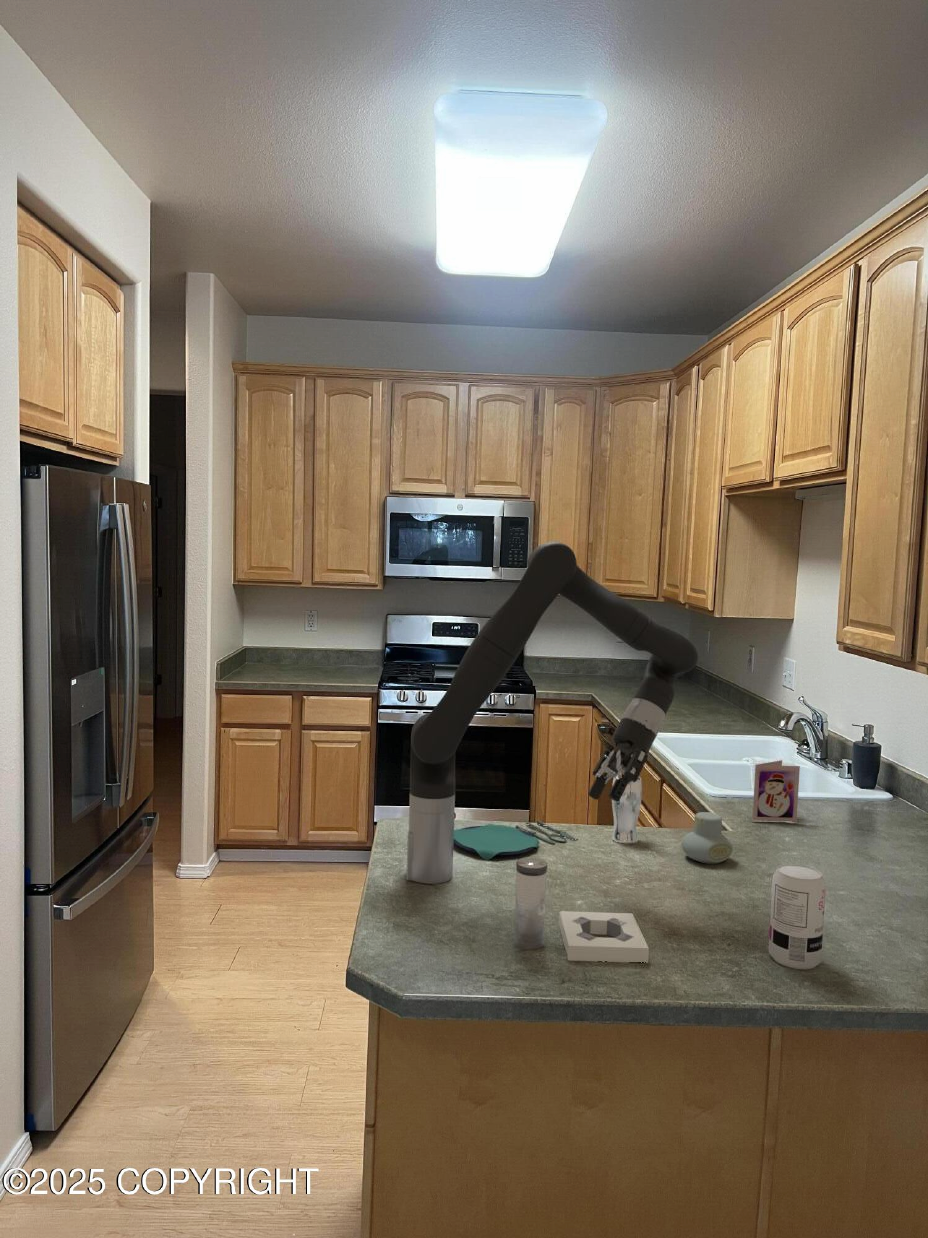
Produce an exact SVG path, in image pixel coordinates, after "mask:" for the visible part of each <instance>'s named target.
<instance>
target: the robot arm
mask: <svg viewBox="0 0 928 1238" xmlns="http://www.w3.org/2000/svg"><path fill="white" fill-rule="evenodd" d="M577 563H578V561H577V558H576V554H575V552H574V551H573V549H572V548H571V547H570V546H568V544H566V543H562V542H559V541H549V542H546V543H543V544H540V545H538V546H537V547H536V548H534V549H533V550H532V552H531V553H530V555H529V557H528V560H527V569H526V570H525V572H524V574H523V576H522V577H521V579H520V581H519V583H518V584H517V586H516V588H514V589H515V590H514V591H513V592H512V594H511V595H510V596H509V597H508V598H507V600H505V602H504V603H503V604H502V605H500V607H499V608H498V609H497V610H496V611H495V612H494V614H493V615H491V617H489V619H488V620H487V621H486V623H485V624H484V625H483V626H482V628H481V629H480V630H479V632H478V633H477V634H476V636H475V637H474V639H473V640H472V642H471V643H470V645H469V646H468V647H467V650H466V651H465V653H464V655H463V657H462V659H461V660H460V663H459V665H458V666H457V669H456V671H455V673H454V675H453V678H452V679H451V682H450V684H449V686H448V688H447V690H446V692H445V693H444V695H443V696H442V698H441V699H440V700H439V701H438V703H437V704H436V705H435V706H434V708H433V709H432V710H431V711H430V712H428V713H425V714H423V715H421V716H420V717H418V719H416V721H415V722H414V724H413V726H412V728H411V732H410V733H411V736H410V760H409V761H410V764H409V766H410V767H409V803H408V804H409V811H408V812H409V813H408V833H407V845H406V846H407V849H406V850H407V851H406V855H407V856H406V878H405V879H406V881H413V882H416V883H420V884H442V883H445V882H448V881H451V880H452V878H453V870H454V844H455V843H454V830H455V809H456V808H455V805H456V804H455V801H456V751H457V748H458V747H459V745H460V743H461V741H462V739H463V737H464V735H465V733H466V731H467V729H468V728H469V726H470V724H471V722H472V721H473V719H474V717H475V715H476V714H477V712H478V711H479V710H480V708H481V707H482V706H483V705H484V703H485V702H486V701H487V700H488V699H489V697H490V696H491V695H492V694H493V692H494V690H495V689H496V688H497V687H498V686H499V684H500V683H501V682H502V680H503V679H504V677H505V676H506V675H507V673H508V672H509V671H510V669H511V668H512V666H513V665H514V664H515V662H516V660H517V659H518V657H519V655H520V654H521V652H522V651H523V649H524V647H526V645H527V643H528V641H529V639H530V637H531V636H532V634H533V632H534V630H535V629H536V627H537V625H538V623H539V621H540V620H541V618H542V616H543V615H544V613H545V612H546V610H547V609H548V608H549V607H550V606H551V604H552V603H553V601H554V600H556V598H557V597H558V596H559V595H560V596H561V597H563V598H565V599H567V600H568V601H570V602H572V603H573V604H574V605H576V606H577V607H579V608H580V609H581V610H583V611H584V612H586V613H587V614H588V615H589V616H590V617H592V618H594V619H595V620H596V621H597V622H599V624H601V625H602V626H603V627H604V628H606V629H607V630H608V631H610V632H611V633H612V634H614V635H613V636H616V637H617V638H618V639H620V640H621V641H622V642H624V643H625V644H626V645H628V647H630V648H632V649H634V650H636V651H639V652H648V653H649V654H651V655H650V658H649V660H648V662H647V665H646V666H645V667H646V668H645V671H644V675H643V678H642V679H643V680H642V682H641V684H640V686H639V688H638V689H637V690H636V693H635V695H634V697H633V698H632V701H630V703H629V705H628V706H627V708H626V709H625V711H624V713H623V715H622V716H621V719H620V721H619V722H618V725H617V726H616V729H615V730H614V732H613V734H612V741H613V743H615V747H614V748H613V750H612V751H610V750H609V749H608V748H606V749H605V750H604V751H603V753H602V755H601V756H600V759H598V761H597V764H596V765H595V767H594V769H593V771H592V776H594V777H595V779H594V780H593V783H592V784H591V787H590V789H589V790H588V793H587V795H588V796H589V797H591V799H593V800H594V801H595V800H596V801H597V800H599V799H600V797H601V795H602V793H603V791H604V790H605V787H606V785H607V783H608V782H609V781H610V780H611V779H612V778H613V777H616V776H617V775H618V778H619V779H616V781H615V783H614V785H613V784H612V785H613V786H612V787H611V788H610V791H609V792H608V794H607V795H608V797H609V798H610V799H611V801H612V800H614V801H619V800H620V798H621V796H622V794H623V792H624V790H625V788H626V786H627V785H629V784H630V783H631V781H633V782H636V781H637V779H638V777H640V774H641V773H642V770H643V769H644V765H645V764H646V762H647V760H648V757H649V755H648V753H649V751H650V750H651V748H652V746H653V744H654V741H655V740H656V738H657V736H658V734H659V731H660V730H661V728H662V725H663V722H664V719H665V717H666V715H667V713H668V711H669V709H670V707H671V705H672V703H673V701H674V699H675V694H676V691H675V689H674V685H675V682H676V680H677V678H678V676H679V675H682V674H685V673H688V672H691V670H693V669H694V668H695V667H696V665H697V664H698V660H699V654H698V650H697V649H696V646H695V645H694V644H693V643H692V641H690V640H689V639H688V638H687V637H686V636H684V635H682V634H681V633H680V632H679V633H678V632H676V631H675V630H673V629H671V628H668V627H667V626H664V625H662V624H660V623H657V622H656V621H654V620H653V619H652V618H651V617H650V616H649V615H647V614H645V613H644V612H643V611H641V609H639V608H637V607H636V606H635V605H633V604H632V603H630V602H629V601H627V600H626V599H624V598H623V597H621V596H619V594H616V593H614V592H613V591H611V590H609V589H607V588H606V587H604V586H603V585H601V584H600V583H598V582H597V581H596V580H594V579H593V578H592V577H591V576H589V575H588V574H587V573H586V572H585V571H583V570H582V568H580V566H578V564H577Z"/></svg>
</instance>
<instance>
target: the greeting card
mask: <svg viewBox="0 0 928 1238" xmlns="http://www.w3.org/2000/svg"><path fill="white" fill-rule="evenodd" d="M754 765H755V768H754V784H753V786H754V787H753V804H752V806H753V807H752V819H753V820H762V821H765V820H767V821H792V822H797V823H798V804H799V789H800V788H799V785H800V771H801V770H800V769H801V768H800V767H801V766H800V765H783V760H782V759H780V760H775V761H771V762H765V763H759V764H758V763H757V764H754Z"/></svg>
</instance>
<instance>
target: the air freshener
mask: <svg viewBox="0 0 928 1238" xmlns="http://www.w3.org/2000/svg"><path fill="white" fill-rule="evenodd" d="M693 822H694V825H693V831H690V832H688V833H687V834H686V835H685V836H684V837H683V838H682V841H681V848H682V850H683V852H684V853H685V855H686V856H688V858H690V859H692V860H694V861H696V862H699V863H703V864H707V863H708V864H709V865H717V864H719V863H722V862H725V861H726V860H727V859H729V858H730V857H731V855H732V854H733V848H734V847H733V844H732V842H731V841H730V839H728V837H726V836H725V835H723V834H722V830H723V818H722V816H721V815H720V814H718V813H714V812H709V811H707V812H705V811H702V812H701V811H700V812H697V813H695V814H694V821H693Z"/></svg>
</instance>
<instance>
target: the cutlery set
mask: <svg viewBox="0 0 928 1238" xmlns="http://www.w3.org/2000/svg"><path fill="white" fill-rule="evenodd" d="M526 824H529V825H526ZM538 824H540V825H547V824H546V823H545V822H543V821H541V820H537V821H536V825H535V824H534V823H531V822H529V821H528V822H525V825H526V826H527V827H530V828H533V829H535V830H536V831H534V830H528V829H526V828H524V827H522V826H519V825H518V824H516V825H515V827H514V826H507V825H502V824H494V823H493V824H489V823H488V824H485V825H475V826H474V825H472V826H468V827H463V828H462V827H461V828H457V829H454V843H453V844H455V846H457V847H459V848H460V849H463V850H466V851H468V852H472V853H477V854H478V855H479V856H480V857H481V858H482V859H483V860H487V861H489V860H491V859H492V858H493V857H495V856H497V855H498V856H511V855H521V854H523V853H527V852H530V851H532V850H538V847H539V844H540V840H542V841H543V842H545V843H548V844H550V845H554V846H555V845H556V842H557V843H564V842H567V841H568V840H569V839H570V840H569V841H572V839H573V841H572V842H574V841H578V840H579V839H578V838H575V837H573V836H572V835H571V834H569V833H568V832H566V831H563V830H562V829H561V830H560V829H557V828H556V829H555V828H554V827H551V826H550V825H548V826H542V827H543V828H544V827H547V828H545V829H547V830H549V831H551V832H553V831H554V832H555V833H557V834H555V833H549V832H547V831H545V830H543V829H542V828H540V827H539V826H540V825H539V826H538ZM537 831H539V832H540V833H543V834H544V835H547V836H548V838H549V839H548V838H546V837H543V836H541V835H539V834H537ZM559 834H560V835H559ZM558 837H560V838H559V840H558V839H555V838H558ZM564 837H566V838H564ZM560 839H561V840H560ZM563 839H564V841H563ZM575 839H576V840H575ZM553 840H554V841H553Z"/></svg>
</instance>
